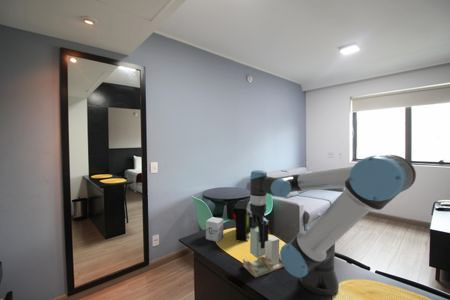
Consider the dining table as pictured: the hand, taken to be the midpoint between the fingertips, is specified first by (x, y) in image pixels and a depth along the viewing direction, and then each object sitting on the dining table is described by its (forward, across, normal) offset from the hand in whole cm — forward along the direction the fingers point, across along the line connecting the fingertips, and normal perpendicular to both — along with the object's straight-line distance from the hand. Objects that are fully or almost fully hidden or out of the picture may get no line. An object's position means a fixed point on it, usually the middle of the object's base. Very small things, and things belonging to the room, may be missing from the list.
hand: (257, 251), depth 99 cm
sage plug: (+1, 0, 0) cm, 1 cm away
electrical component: (+9, +34, -14) cm, 38 cm away
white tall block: (+7, 0, -9) cm, 12 cm away
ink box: (+9, +39, +4) cm, 40 cm away
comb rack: (+8, 0, -4) cm, 9 cm away
